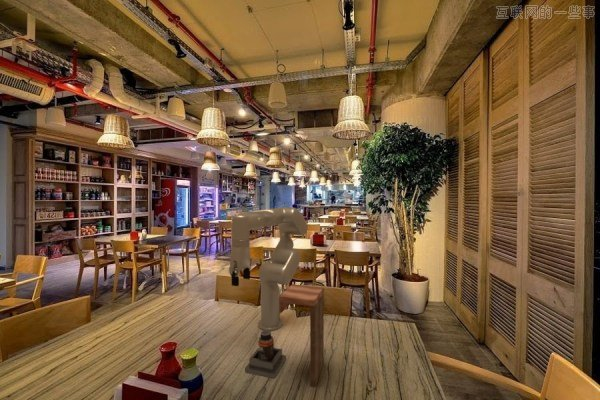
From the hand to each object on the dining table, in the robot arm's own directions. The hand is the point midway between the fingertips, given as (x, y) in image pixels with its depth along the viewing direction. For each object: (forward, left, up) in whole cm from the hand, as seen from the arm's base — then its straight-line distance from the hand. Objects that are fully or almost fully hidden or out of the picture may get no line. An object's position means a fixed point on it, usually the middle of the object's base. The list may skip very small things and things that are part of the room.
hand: (241, 282), depth 118 cm
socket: (+9, +16, -28) cm, 34 cm away
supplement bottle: (+9, +16, -27) cm, 33 cm away
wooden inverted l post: (+8, +31, -28) cm, 42 cm away
